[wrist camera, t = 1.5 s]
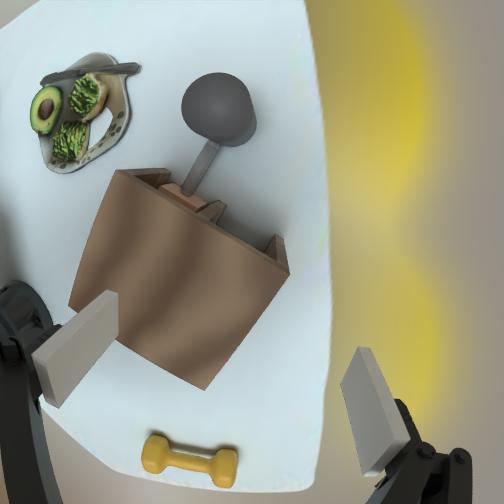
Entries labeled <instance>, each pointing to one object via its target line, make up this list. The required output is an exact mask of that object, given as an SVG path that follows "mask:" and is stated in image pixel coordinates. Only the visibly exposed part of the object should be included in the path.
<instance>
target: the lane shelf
mask: <svg viewBox="0 0 504 504" xmlns="http://www.w3.org/2000/svg"><path fill="white" fill-rule="evenodd" d="M170 174H171V172H170V171H168V170H166V169H165V168H146V169H124V170H115V173H114V175H113V177H112V179H111V182H110V184H109V186H108V188H107V191H106V193H105V196H104V198H103V200H102V203H101V205H100V208H99V210H98V213H97V216H96V218H95V221H94V223H93V226H92V229H91V232H90V234H89V237H88V240H87V243H86V246H85V249H84V252H83V255H82V258H81V261H80V265H79V268H78V271H77V275H76V278H75V282H74V285H73V289H72V292H71V296H70V300H69V304H68V306H69V307H70V308H72V309H73V310H74V311H76V312H77V313H79V312H80V311H81V310H83V309H84V308H85V307H86V306H87V305H89V304H90V303H91V302H92V301H93V300H95V299H96V298H97V297H98V296H99V295H101V294H102V293H103V292H104V291H105V290H110V291H113V292H116V293H118V332H119V335H118V336H117V337H116V338H115V340H117V341H118V342H120V343H121V344H123V345H124V346H126V347H128V348H129V349H131V350H132V351H134V352H136V353H137V354H139V355H140V356H142V357H144V358H145V359H147V360H149V361H150V362H152V363H154V364H155V365H157V366H159V367H161V368H162V369H164V370H166V371H168V372H169V373H171V374H173V375H175V376H177V377H179V378H180V379H182V380H184V381H186V382H188V383H190V384H192V385H194V386H196V387H198V388H200V389H202V390H204V391H205V389H206V388H207V387H208V386H209V384H210V383H211V382H212V380H213V379H214V378H215V376H216V375H217V374H218V373H219V371H220V370H221V369H222V367H223V366H224V365H225V363H226V362H227V361H228V359H229V358H230V357H231V355H232V354H233V353H234V351H235V350H236V349H237V347H238V346H239V345H240V343H241V342H242V341H243V339H244V338H245V337H246V335H247V334H248V333H249V331H250V330H251V328H252V327H253V326H254V324H255V323H256V322H257V320H258V319H259V318H260V316H261V315H262V313H263V312H264V311H265V309H266V308H267V306H268V305H269V304H270V302H271V301H272V299H273V298H274V297H275V295H276V294H277V292H278V291H279V289H280V288H281V287H282V285H283V284H284V282H285V281H286V280H287V278H288V277H289V275H290V272H289V267H288V261H287V256H286V250H285V245H284V239H282V238H280V237H279V236H277V235H275V236H274V237H273V239H272V240H271V242H270V243H269V245H268V247H267V248H266V250H265V251H264V253H262V252H260V251H259V250H257V249H255V248H254V247H252V246H250V245H249V244H247V243H245V242H244V241H242V240H240V239H239V238H237V237H235V236H234V235H232V234H230V233H229V232H227V231H225V230H224V229H222V228H220V227H219V226H217V225H215V224H216V222H217V220H218V219H219V217H220V215H221V214H222V212H223V210H224V209H225V207H226V204H224V203H223V202H221V201H219V200H217V201H216V202H214V203H213V204H211V205H209V206H208V207H206V208H205V209H203V210H201V211H200V212H198V213H195V212H194V211H192V210H190V209H189V208H187V207H185V206H184V205H182V204H180V203H179V202H177V201H175V200H174V199H172V198H170V197H169V196H167V195H165V194H164V193H162V192H160V191H159V190H158V189H159V187H160V185H165V183H166V181H167V179H168V178H169V176H170Z"/></svg>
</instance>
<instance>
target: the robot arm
mask: <svg viewBox="0 0 504 504" xmlns="http://www.w3.org/2000/svg"><path fill="white" fill-rule="evenodd" d="M118 335H119V332H118V293H116V292H113V291H110V290H105V291H104V292H103V293H102V294H101V295H99V296H98V297H97V298H96V299H95V300H93V301H92V302H91V303H90V304H89V305H87V306H86V307H85V308H84V309H83V310H81V311H80V312H79V313H78V314H77V315H75V316H74V317H73V318H72V319H71V320H70V321H68V322H67V323H66V324H65V325H64V326H62V325H60V324H57V325H54V326H53V323H52V320H51V317H50V315H49V312H48V310H47V308H46V307H45V305H44V303H43V302H42V300H41V299H40V297H39V296H38V295H37V293H36V292H35V291H34V290H33V289H32V288H31V287H29V286H28V285H27V284H25V283H23V282H21V281H12V282H10V283H8V284H6V285H5V286H3V287H2V288H1V290H0V449H1V458H2V466H3V472H4V479H5V484H6V490H7V494H8V499H9V504H63V501H62V498H61V495H60V492H59V489H58V486H57V482H56V479H55V475H54V472H53V468H52V464H51V460H50V456H49V452H48V447H47V442H46V437H45V432H44V426H43V420H42V414H41V407H40V401H39V396H40V395H41V394H42V393H43V395H44V398H45V401H46V402H47V403H49V404H51V405H53V406H54V407H56V408H58V409H59V408H60V407H61V405H62V404H63V403H64V401H65V400H66V399H67V398H68V396H69V395H70V394H71V392H72V391H73V390H74V389H75V387H76V386H77V385H78V384H79V382H80V381H81V380H82V379H83V377H84V376H85V375H86V374H87V372H88V371H89V370H90V369H91V367H92V366H93V365H94V364H95V363H96V361H97V360H98V359H99V358H100V356H101V355H102V354H103V353H104V352H105V350H106V349H107V348H108V347H109V346H110V344H111V343H112V342H113V341H114V340H115V338H116V337H117V336H118ZM340 385H341V389H342V392H343V396H344V400H345V403H346V408H347V411H348V415H349V420H350V424H351V428H352V431H353V436H354V440H355V444H356V449H357V453H358V457H359V462H360V467H361V471H362V476H363V477H364V476H378V475H379V474H380V473H381V471H383V469H384V468H385V472H386V476H385V477H384V478H383V479H382V480H381V481H380V482H379V483H378V484H377V485H375V487H377V488H376V489H375V491H374V492H373V494H372V496H371V497H370V498H369V500H368V501H367V503H366V504H472V458H471V455H470V454H469V452H467V451H466V450H464V449H462V448H455V449H453V450H452V451H451V453H450V454H449V455H448V454H442V453H436V450H435V449H434V447H433V446H431V445H430V444H429V443H426V442H422V440H421V438H420V435H419V433H418V431H417V429H416V426H415V424H414V422H413V421H412V417H411V415H409V414H410V413H409V411H408V409H407V406H406V405H405V404H404V403H403V402H402V401H401V400H400V399H394V398H393V396H392V394H391V392H390V389H389V387H388V385H387V383H386V381H385V378H384V376H383V374H382V372H381V370H380V368H379V366H378V363H377V361H376V359H375V357H374V355H373V353H372V351H371V349H370V348H366V347H358V348H357V350H356V352H355V354H354V356H353V359H352V361H351V363H350V365H349V367H348V369H347V371H346V373H345V376H344V377H343V380H342V382H341V384H340Z"/></svg>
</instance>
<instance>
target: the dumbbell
mask: <svg viewBox="0 0 504 504" xmlns="http://www.w3.org/2000/svg"><path fill="white" fill-rule="evenodd" d="M141 461H142V465H143V467H144V469H145V470H146V471H147V472H150V473H153V474H159V473H161V472H162V471H163V470H164V469H165V468H166V467H167V466H174V467H177V468H181V469H185V470H190V471H195V472H204V473H207V474H209V475H210V476H211V478H212V481H213V483H214V484H215V485H216V486H217V487H221V488H230V487H232V485H233V484H234V482H235V479H236V474H237V467H238V456H237V453H236V452H235V451H234V450H230V449H221V450H219V451H218V452H217V453H216V455H215V456H214V457H213V458H211V459H207V458H203V457H199V456H194V455H189V454H184V453H178V452H173V451H171V450H170V448H169V444H168V441H167V439H166V438H164V437H162V436H158V435H152V436H150V437H149V438H148V439H147V440H146V441H145V443H144V447H143V451H142V456H141Z"/></svg>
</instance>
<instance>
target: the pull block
mask: <svg viewBox="0 0 504 504" xmlns="http://www.w3.org/2000/svg"><path fill="white" fill-rule="evenodd" d="M181 111H182V116H183V119H184V121H185V123H186V124H187V125H188V127H189V128H190V129H191V130H193V131H194V132H195V133H197V134H199V135H201V136H204V137H206V138H208V139H210V140H208V141H207V143H206V145H205V146H204V148H203V150H202V151H201V153H200V155H199V156H198V158H197V160H196V162H195V163H194V165H193V167H192V169H191V170H190V172H189V174H188V176H187V178H186V179H185V181H184V183H183V185H182V187H180V186H178V185H177V184H175V183H171V184H166V185H160V187H159V189H158V190H159V191H160V192H162V193H164V194H165V195H167V196H169V197H170V198H172V199H174V200H175V201H177V202H179V203H180V204H182V205H184V206H185V207H187V208H189V209H190V210H192V211H194V212H195V213H198V212H200V211H201V210H203V209H204V208H205V206H206V204H207V202H205V201H204V200H202V199H200V198H199V197H197V196H195V195H194V194H193V193H194V191H195V189H196V188H197V186H198V184H199V182H200V181H201V179H202V177H203V175H204V174H205V172H206V170H207V168H208V167H209V165H210V163H211V162H212V160H213V158H214V157H215V155H216V153H217V151H218V150H219V148H220V145H223V146H227V147H235V146H239V145H242V144H244V143H245V142H247V141H248V140H249V139H250V138H251V137H252V136H253V134H254V132H255V130H256V124H257V121H256V116H255V112H254V108H253V105H252V101H251V98H250V94H249V91H248V89H247V87H246V86H245V85H244V83H243V82H242V81H241V80H239V79H238V78H236V77H235V76H232V75H230V74H226V73H211V74H207V75H204V76H202V77H200V78H198V79H197V80H195V81H194V82H193V83H192V84H191V85H190V86H189V87H188V89H187V90H186V92H185V94H184V96H183V99H182V105H181Z"/></svg>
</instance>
